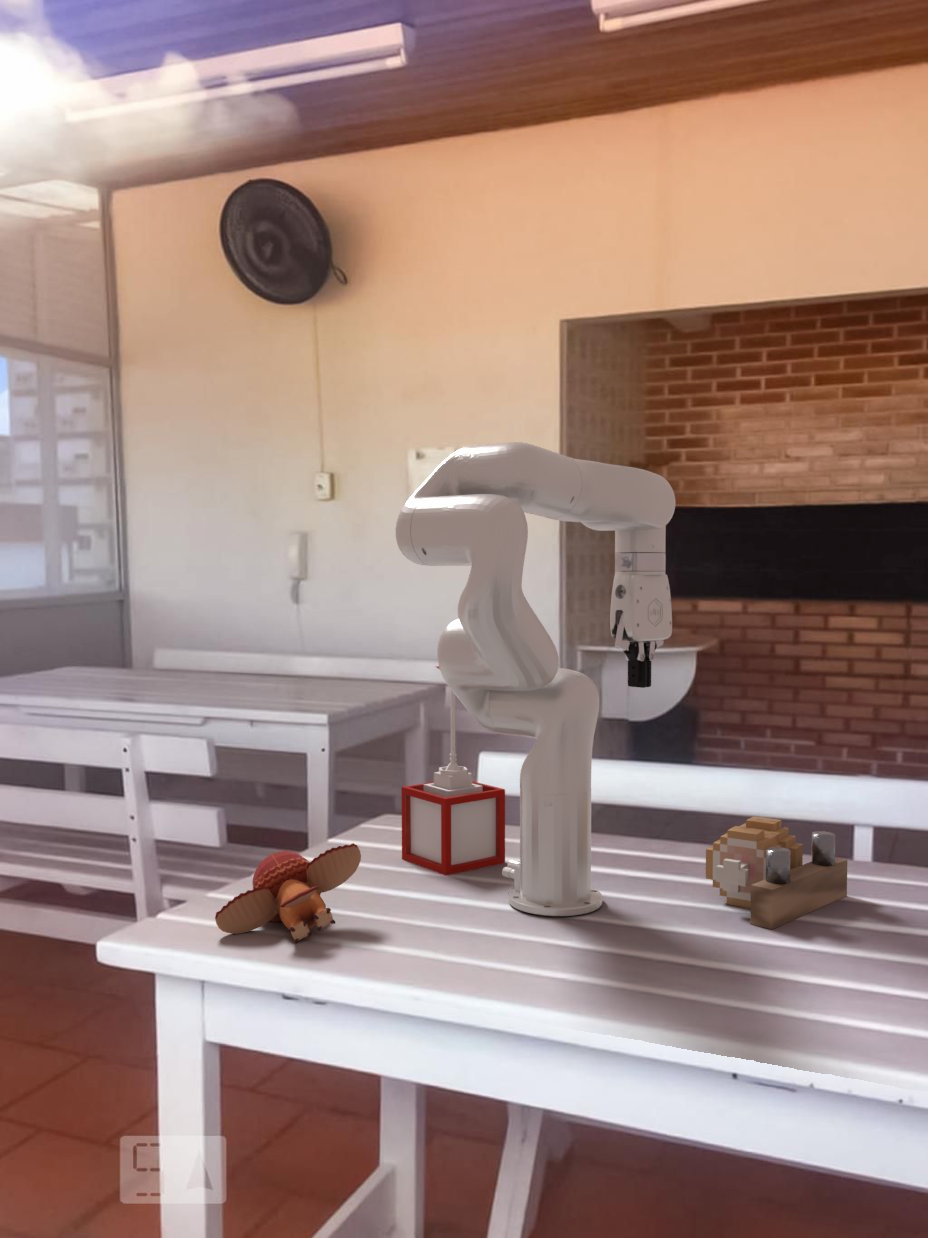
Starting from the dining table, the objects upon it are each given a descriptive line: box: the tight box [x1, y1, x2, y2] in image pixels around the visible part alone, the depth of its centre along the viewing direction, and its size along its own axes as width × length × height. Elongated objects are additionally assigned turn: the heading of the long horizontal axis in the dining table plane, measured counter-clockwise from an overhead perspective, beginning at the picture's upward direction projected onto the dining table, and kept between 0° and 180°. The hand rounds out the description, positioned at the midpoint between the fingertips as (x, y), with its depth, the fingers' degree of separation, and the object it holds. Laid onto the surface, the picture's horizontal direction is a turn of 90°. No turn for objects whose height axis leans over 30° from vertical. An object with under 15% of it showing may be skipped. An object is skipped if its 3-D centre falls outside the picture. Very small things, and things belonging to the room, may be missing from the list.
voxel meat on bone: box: [705, 815, 804, 909], centre depth 148 cm, size 10×18×10 cm, turn 145°
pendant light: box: [401, 665, 506, 876], centre depth 167 cm, size 11×11×30 cm
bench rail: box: [749, 830, 848, 930], centre depth 143 cm, size 3×20×9 cm, turn 134°
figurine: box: [214, 842, 362, 944], centre depth 137 cm, size 20×9×15 cm
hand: (639, 686), depth 164 cm, fingers closed
